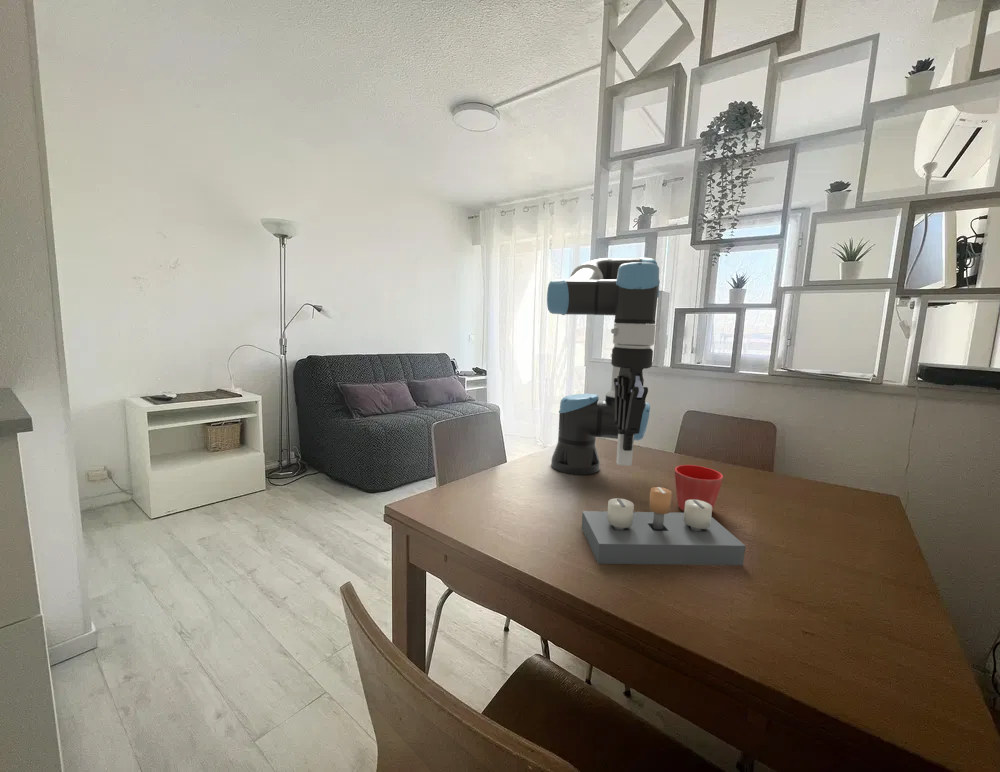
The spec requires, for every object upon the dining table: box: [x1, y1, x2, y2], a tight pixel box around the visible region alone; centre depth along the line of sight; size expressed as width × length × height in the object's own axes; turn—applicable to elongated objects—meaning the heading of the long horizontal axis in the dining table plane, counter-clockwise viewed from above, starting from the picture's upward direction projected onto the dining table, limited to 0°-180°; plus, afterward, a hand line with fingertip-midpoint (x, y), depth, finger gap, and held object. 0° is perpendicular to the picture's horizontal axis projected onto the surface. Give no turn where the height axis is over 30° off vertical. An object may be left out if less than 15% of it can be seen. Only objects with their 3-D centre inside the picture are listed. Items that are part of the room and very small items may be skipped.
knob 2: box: [683, 500, 713, 531], centre depth 86 cm, size 5×5×8 cm
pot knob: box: [648, 486, 673, 529], centre depth 86 cm, size 4×4×8 cm
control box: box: [581, 510, 746, 566], centre depth 86 cm, size 14×28×4 cm, turn 92°
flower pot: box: [674, 464, 724, 512], centre depth 104 cm, size 11×11×10 cm
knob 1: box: [607, 498, 635, 530], centre depth 86 cm, size 5×5×8 cm
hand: (623, 464), depth 84 cm, fingers closed
